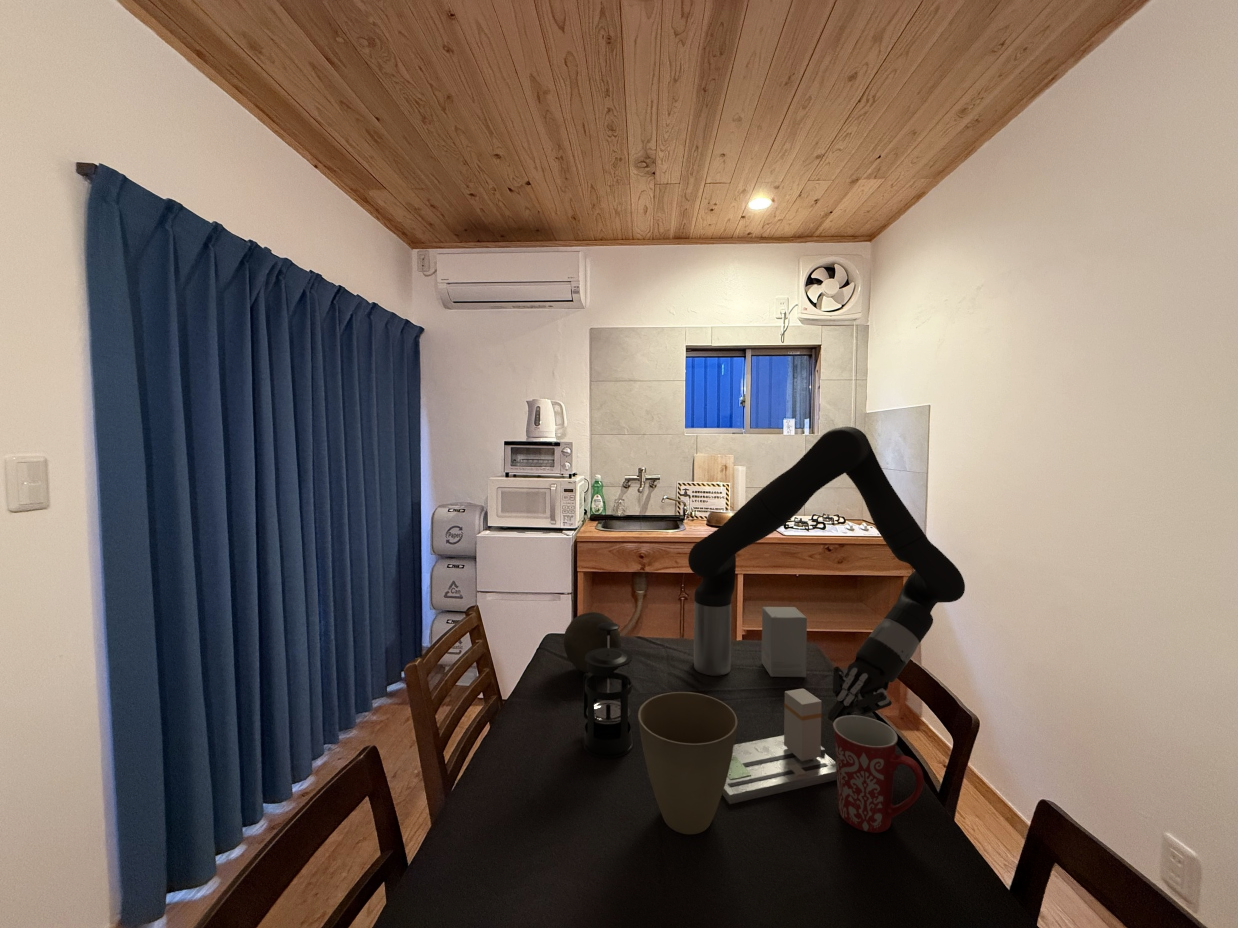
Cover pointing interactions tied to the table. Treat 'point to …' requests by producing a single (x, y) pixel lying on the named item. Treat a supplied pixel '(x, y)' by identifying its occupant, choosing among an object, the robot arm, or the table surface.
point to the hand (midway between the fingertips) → (833, 722)
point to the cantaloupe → (588, 638)
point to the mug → (869, 772)
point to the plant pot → (687, 755)
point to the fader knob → (802, 724)
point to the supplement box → (784, 641)
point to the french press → (607, 701)
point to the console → (772, 770)
